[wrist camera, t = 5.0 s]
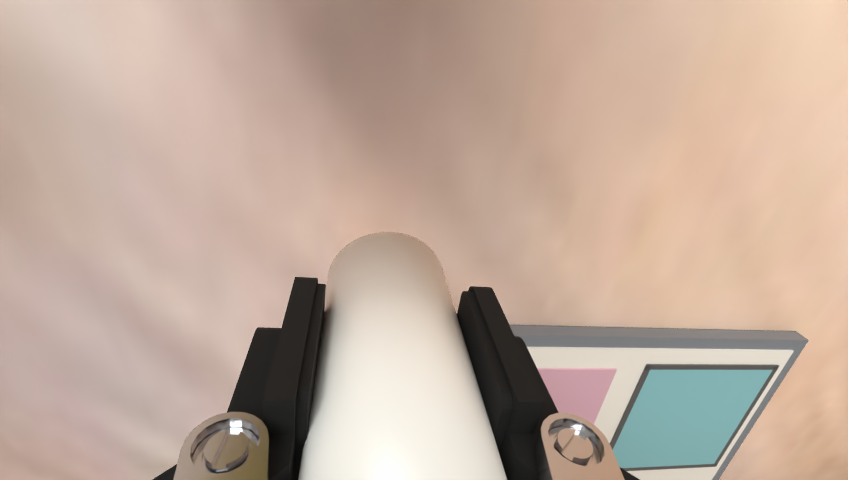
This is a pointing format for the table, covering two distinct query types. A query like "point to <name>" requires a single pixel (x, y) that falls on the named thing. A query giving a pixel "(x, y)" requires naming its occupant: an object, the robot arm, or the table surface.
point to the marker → (395, 373)
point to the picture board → (664, 389)
